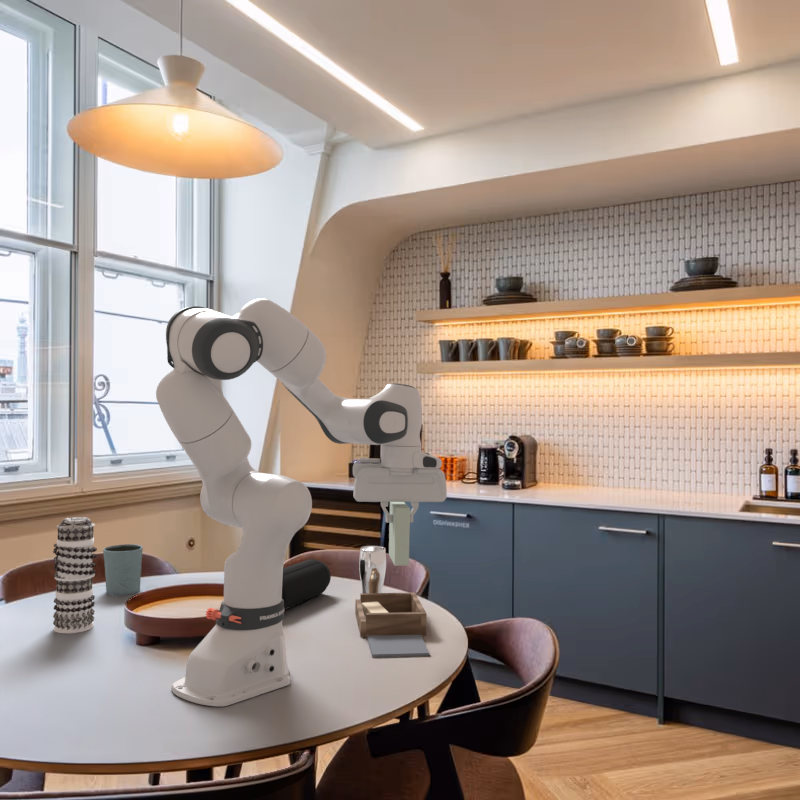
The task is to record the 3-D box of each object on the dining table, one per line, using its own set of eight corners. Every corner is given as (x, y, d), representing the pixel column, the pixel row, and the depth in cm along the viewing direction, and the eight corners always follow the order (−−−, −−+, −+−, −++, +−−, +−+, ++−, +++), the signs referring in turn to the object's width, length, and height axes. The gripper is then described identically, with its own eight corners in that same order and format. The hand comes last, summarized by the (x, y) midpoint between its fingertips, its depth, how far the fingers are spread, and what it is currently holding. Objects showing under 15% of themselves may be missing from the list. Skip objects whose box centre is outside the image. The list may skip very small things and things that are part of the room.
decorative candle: (42, 632, 161) (44, 520, 161) (70, 620, 170) (72, 514, 170) (77, 635, 159) (79, 523, 159) (103, 623, 168) (106, 516, 168)
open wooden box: (426, 635, 163) (426, 613, 163) (360, 636, 161) (360, 614, 161) (414, 612, 181) (414, 592, 181) (355, 613, 179) (355, 593, 179)
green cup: (139, 595, 192) (139, 550, 192) (98, 597, 190) (99, 551, 190) (144, 586, 202) (145, 543, 202) (106, 587, 200) (106, 544, 200)
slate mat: (429, 655, 150) (429, 652, 150) (372, 657, 149) (372, 654, 149) (420, 637, 162) (420, 634, 162) (367, 638, 161) (367, 635, 161)
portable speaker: (302, 591, 200) (303, 555, 200) (333, 595, 196) (334, 559, 196) (245, 614, 177) (246, 574, 177) (278, 620, 173) (279, 579, 173)
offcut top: (390, 623, 166) (390, 614, 166) (373, 624, 165) (373, 615, 165) (377, 610, 177) (377, 601, 177) (361, 611, 175) (361, 602, 175)
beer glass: (384, 610, 183) (385, 551, 183) (357, 609, 183) (358, 550, 183) (385, 602, 190) (386, 545, 190) (359, 601, 190) (360, 545, 190)
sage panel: (408, 565, 150) (410, 508, 150) (394, 565, 150) (395, 508, 150) (402, 554, 161) (403, 501, 161) (388, 554, 161) (389, 501, 161)
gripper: (353, 459, 151) (352, 524, 151) (449, 460, 154) (447, 524, 154) (351, 457, 157) (350, 520, 157) (443, 458, 160) (442, 520, 160)
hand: (399, 522), depth 156 cm, fingers closed on sage panel, 3 cm apart
